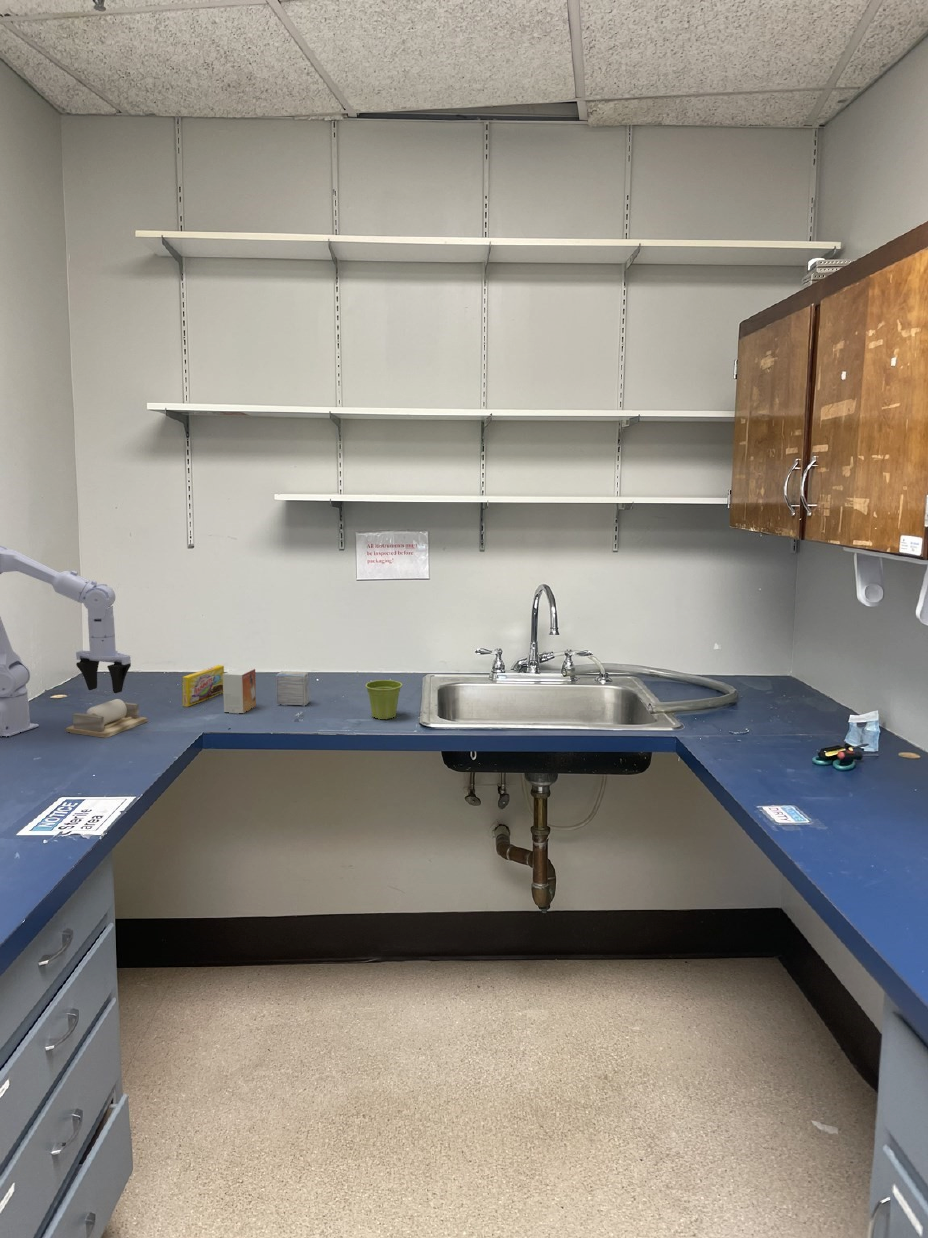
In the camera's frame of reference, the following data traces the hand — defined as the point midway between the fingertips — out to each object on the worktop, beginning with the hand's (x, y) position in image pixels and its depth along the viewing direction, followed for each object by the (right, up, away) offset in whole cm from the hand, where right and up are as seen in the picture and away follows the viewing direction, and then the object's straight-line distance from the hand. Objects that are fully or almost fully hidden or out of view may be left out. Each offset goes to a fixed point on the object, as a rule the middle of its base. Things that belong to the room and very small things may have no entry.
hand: (105, 690), depth 198 cm
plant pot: (+66, -8, +14) cm, 68 cm away
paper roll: (0, -8, +1) cm, 8 cm away
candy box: (+15, -5, +28) cm, 32 cm away
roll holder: (0, -9, +2) cm, 9 cm away
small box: (+28, -7, +18) cm, 34 cm away
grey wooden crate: (+41, -6, +24) cm, 48 cm away
